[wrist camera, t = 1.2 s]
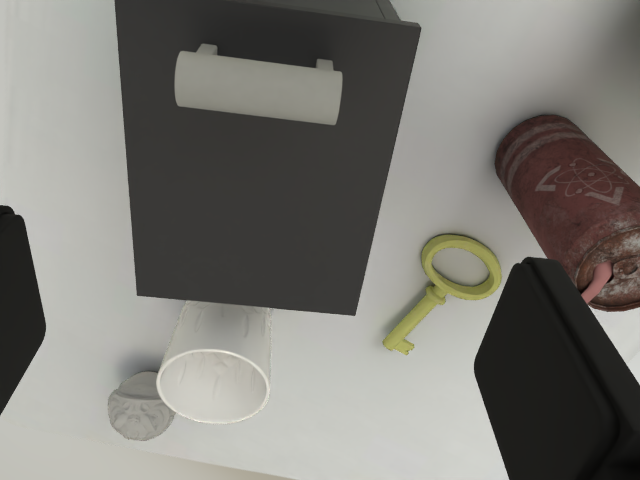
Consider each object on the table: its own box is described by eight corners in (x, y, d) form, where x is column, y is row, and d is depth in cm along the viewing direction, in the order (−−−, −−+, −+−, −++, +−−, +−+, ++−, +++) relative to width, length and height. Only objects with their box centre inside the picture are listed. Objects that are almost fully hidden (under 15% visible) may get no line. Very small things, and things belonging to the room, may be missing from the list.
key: (377, 335, 49) (379, 353, 47) (432, 225, 42) (438, 241, 40) (449, 351, 50) (455, 368, 48) (514, 247, 43) (523, 263, 42)
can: (472, 165, 39) (539, 288, 27) (539, 94, 36) (646, 200, 25) (529, 206, 41) (615, 337, 29) (597, 142, 38) (721, 261, 27)
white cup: (258, 248, 43) (246, 338, 35) (289, 318, 47) (284, 413, 39) (168, 271, 44) (135, 363, 36) (206, 337, 48) (185, 433, 40)
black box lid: (118, -20, 22) (68, 9, 18) (419, 23, 23) (444, 60, 19) (140, 287, 32) (110, 358, 27) (354, 307, 33) (361, 378, 28)
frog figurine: (185, 354, 50) (169, 417, 44) (184, 403, 54) (168, 467, 48) (118, 347, 49) (92, 410, 43) (121, 397, 53) (98, 461, 47)
